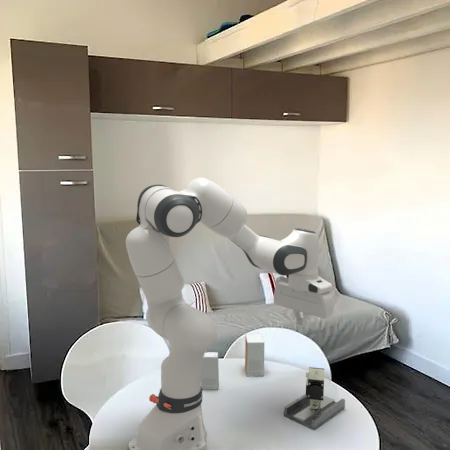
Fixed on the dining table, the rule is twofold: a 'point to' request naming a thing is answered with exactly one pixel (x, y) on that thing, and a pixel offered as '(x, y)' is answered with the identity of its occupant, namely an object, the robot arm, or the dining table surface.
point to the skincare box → (210, 371)
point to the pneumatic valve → (315, 387)
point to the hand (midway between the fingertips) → (301, 324)
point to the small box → (254, 354)
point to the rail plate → (313, 411)
